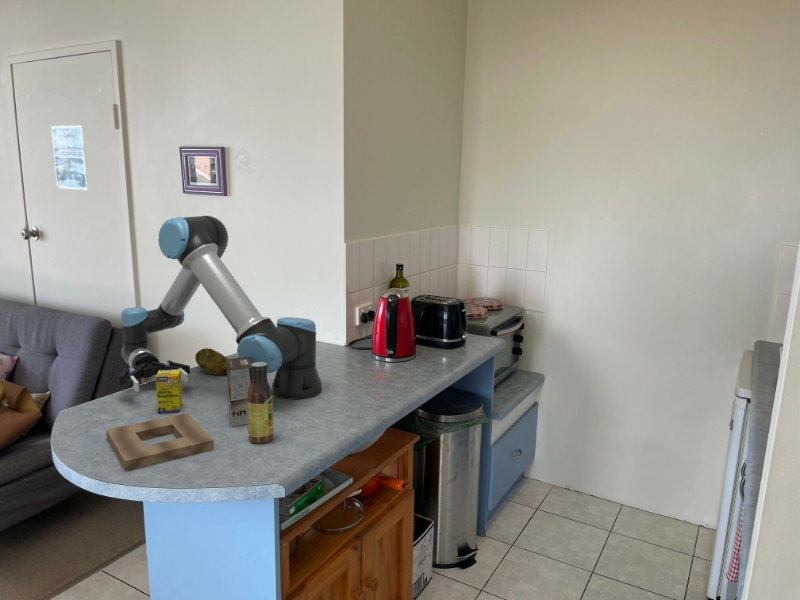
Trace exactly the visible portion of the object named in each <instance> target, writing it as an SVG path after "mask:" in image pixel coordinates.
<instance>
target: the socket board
mask: <svg viewBox="0 0 800 600" xmlns="http://www.w3.org/2000/svg"><path fill="white" fill-rule="evenodd" d="M167 435H169V436H170V435H174V436H175V438H174V439H169V440H165V441H160V442H156V443H153V444H152V443H151V444H148V445H145V444H144V443H143V442H142V441H145V440H150V439H155V438H159V437H163V436H167ZM106 439H107V441H108V443H109V444H110V446H111V448H112V450H113V451H114V454H115V456H116V457H117V459H118V461H119V463H120V464H121V466H122V468H123V467H124V468H123V469H124V471H125V472H130V471H133V469H134V470H137V468H138V469H142V468H146V467H149V466H155V465H158V464H161V463H165V462H170V461H174V460H176V459H177V460H178V459H181V458H182V459H183V458H185V457H189V456H193V455H197V454H202V453H205V452H209V451H213V450H215V447H214V446H215V444H214V442H215V441H214V440H215V439H214V438H212V436H210V435H209V434H208V433H207V431H206V430H205V429H204V428H203V427H202V426H201V425H200V424H199V423H198V421H196V420H195V419H194V418H193V417H192V416H191V415H190V413H188V412H186V413H185V412H184V413H181V414H175V415H172V416H171V415H170V416H166V417H161V418H157V419H152V420H147V421H142V422H137V423H132V424H126V425H122V426H117V427H113V428H108V429H106ZM141 467H142V468H141ZM129 470H130V471H129Z"/></svg>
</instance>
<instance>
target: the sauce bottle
mask: <svg viewBox="0 0 800 600" xmlns="http://www.w3.org/2000/svg"><path fill="white" fill-rule="evenodd" d="M251 371H252V383H251V385H250V387H249V389H248V393H247V394H248V401H247V407H248V424H247V428H248V430H247V432H248V440H249V441H250V443H253V444H265V443H268V442H270V441H271V440H273V437H274V404H273V403H274V401H273V399H274V397H273V395H274V394H273V393H272V387H271V386H270V383H269V380H268V373H267V363H265V362H255V363H252V364H251Z"/></svg>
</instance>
